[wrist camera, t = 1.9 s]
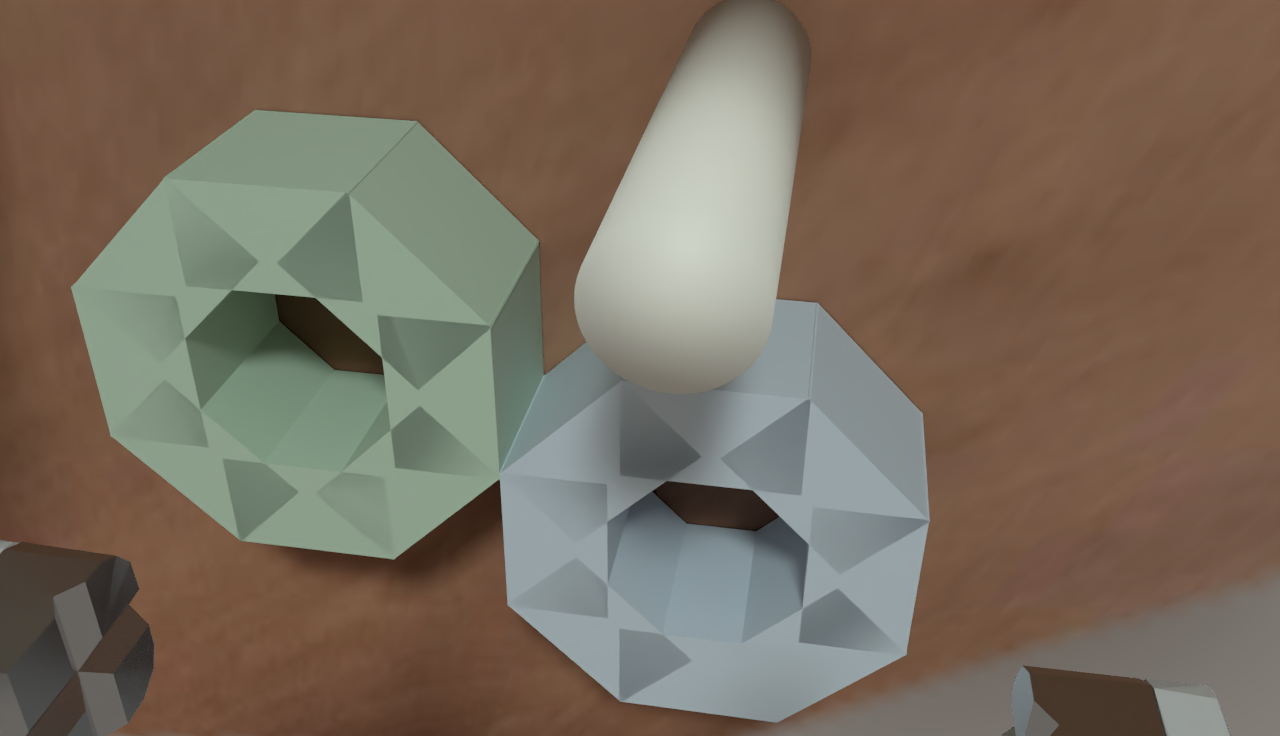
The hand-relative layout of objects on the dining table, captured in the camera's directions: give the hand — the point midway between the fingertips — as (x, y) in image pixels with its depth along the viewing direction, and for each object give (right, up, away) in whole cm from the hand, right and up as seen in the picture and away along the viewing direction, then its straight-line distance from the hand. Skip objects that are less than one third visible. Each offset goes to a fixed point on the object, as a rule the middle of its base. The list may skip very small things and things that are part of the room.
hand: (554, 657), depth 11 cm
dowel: (+3, +10, +16) cm, 19 cm away
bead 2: (+3, 0, +22) cm, 22 cm away
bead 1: (-7, +5, +21) cm, 22 cm away
